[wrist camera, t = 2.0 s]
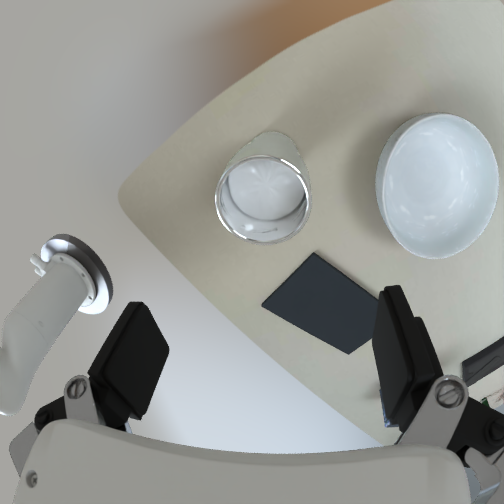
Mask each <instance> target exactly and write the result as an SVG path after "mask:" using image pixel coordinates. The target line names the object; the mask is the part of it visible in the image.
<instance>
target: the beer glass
mask: <svg viewBox="0 0 504 504" xmlns="http://www.w3.org/2000/svg"><path fill="white" fill-rule="evenodd" d="M215 206H216V210H217V213H218V216H219V218H220V220H221V222H222V223H223V225H224V226H225V227H226V228H227V229H228V230H229V231H230V232H231V233H232V234H233V235H235V236H236V237H238V238H240V239H241V240H244V241H246V242H249V243H252V244H257V245H273V244H278V243H281V242H284V241H286V240H288V239H290V238H292V237H293V236H295V235H296V234H297V233H298V232H299V231H300V230H301V229H302V228H303V227H304V225H305V224H306V222H307V220H308V218H309V215H310V212H311V207H312V195H311V181H310V176H309V172H308V169H307V167H306V164H305V162H304V160H303V159H302V157H301V156H300V155H299V153H298V149H297V147H296V145H295V143H294V142H293V141H292V140H291V139H290V138H289V137H288V136H286V135H285V134H282V133H279V132H273V131H271V132H265V133H262V134H260V135H258V136H256V137H255V138H254V139H253V140H252V141H251V143H250V144H248V145H246V146H244V147H243V148H241V149H240V150H239V151H238V152H237V153H236V154H235V155H234V156H233V157H232V158H231V160H230V161H229V163H228V164H227V166H226V168H225V170H224V172H223V174H222V176H221V177H220V179H219V181H218V184H217V187H216V191H215Z"/></svg>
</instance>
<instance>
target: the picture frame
mask: <svg viewBox="0 0 504 504" xmlns="http://www.w3.org/2000/svg"><path fill="white" fill-rule="evenodd" d="M462 365H463V381H464V382H465V383H466V385H467V387H469V386H471V385H472V384H474V383H476V382H477V381H478V380H480V379H482V378H483V377H485V376H487V375H488V374H490V373H491V372H493V371H495V370H496V369H498V368H499V367H501V366H502V365H504V337H502V338H501V339H499V340H498V341H496V342H495V343H493V344H492V345H490V346H489V347H487V348H485V349H484V350H482V351H481V352H479V353H477V354H476V355H474V356H472V357H470V358H469V359H467V360H465V361H463V362H462Z"/></svg>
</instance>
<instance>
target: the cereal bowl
mask: <svg viewBox="0 0 504 504" xmlns="http://www.w3.org/2000/svg"><path fill="white" fill-rule="evenodd" d="M375 178H376V181H375V184H376V185H375V187H376V197H377V201H378V206H379V209H380V213H381V215H382V218H383V219H384V222H385V224H386V225H387V227H388V229H389V230H390V232H391V234H392V235H393V236H394V238H395V239H396V240H397V241H398V243H399V244H401V245H402V246H403V247H404V248H405V249H406V250H408V251H409V252H411V253H413V254H415V255H417V256H419V257H423V258H428V259H441V258H446V257H450V256H453V255H455V254H457V253H459V252H461V251H463V250H464V249H466V248H467V247H468V246H470V245H471V244H472V243H473V242H474V241H475V240H476V239H477V238H478V237H479V236H480V235H481V234H482V232H483V231H484V230H485V228H486V226H487V225H488V223H489V221H490V219H491V217H492V215H493V212H494V210H495V207H496V203H497V199H498V193H499V172H498V165H497V161H496V158H495V155H494V152H493V150H492V147H491V145H490V144H489V142H488V140H487V139H486V137H485V136H484V135H483V133H482V132H481V131H480V130H479V129H478V128H477V127H476V126H475V125H473V124H472V123H471V122H469V121H468V120H466V119H464V118H462V117H459V116H457V115H454V114H448V113H428V114H422V115H420V116H417V117H414V118H412V119H410V120H408V121H407V122H405V123H404V124H402V125H401V126H400V127H399V128H398V129H397V130H396V131H395V132H394V133H393V134H392V135H391V136H390V138H389V140H388V141H387V143H386V144H385V146H384V148H383V150H382V152H381V155H380V158H379V161H378V166H377V171H376V177H375Z"/></svg>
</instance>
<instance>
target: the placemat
mask: <svg viewBox="0 0 504 504" xmlns="http://www.w3.org/2000/svg"><path fill="white" fill-rule="evenodd" d="M378 301H379V300H378V299H376V298H375V297H374V296H372V295H371V294H370V293H368V292H367V291H366V290H364V289H363V288H362V287H360V286H359V285H358V284H356V283H355V282H354V281H352V280H351V279H350V278H348V277H347V276H346V275H344V274H343V273H342V272H340V271H339V270H337V269H336V268H335V267H333V266H332V265H331V264H329V263H328V262H326V261H325V260H324V259H322V258H321V257H320V256H318V255H317V254H315V253H314V252H313V253H312V254H311V255H310V256H309V257H308V258H307V259H306V260H305V261H304V262H303V263H302V264H301V266H300V267H299V268H298V269H297V270H296V271H295V272H294V273H293V274H292V275H291V276H290V277H289V278H288V279H287V280H286V281H285V282H284V283H283V284H282V285H281V286H280V287H279V288H278V289H277V290H276V291H275V292H274V293H272V294H271V295H270V296H269V297H268V298H267V299H266V300H265V301H264V302H263V303H262V307H264V308H265V309H267V310H269V311H271V312H272V313H274V314H276V315H277V316H279V317H281V318H283V319H284V320H286V321H288V322H290V323H292V324H293V325H295V326H297V327H299V328H300V329H302V330H304V331H306V332H308V333H309V334H311V335H313V336H315V337H317V338H319V339H320V340H322V341H324V342H326V343H328V344H330V345H331V346H333V347H335V348H337V349H339V350H341V351H343V352H345V353H346V354H348V355H349V354H350V353H352V352H353V351H355V350H356V349H357V348H359V347H360V346H362V345H363V344H364V343H366V342H367V341H369V340H370V339H371V338H372V337H373V332H374V326H375V320H376V314H377V308H378Z"/></svg>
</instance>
